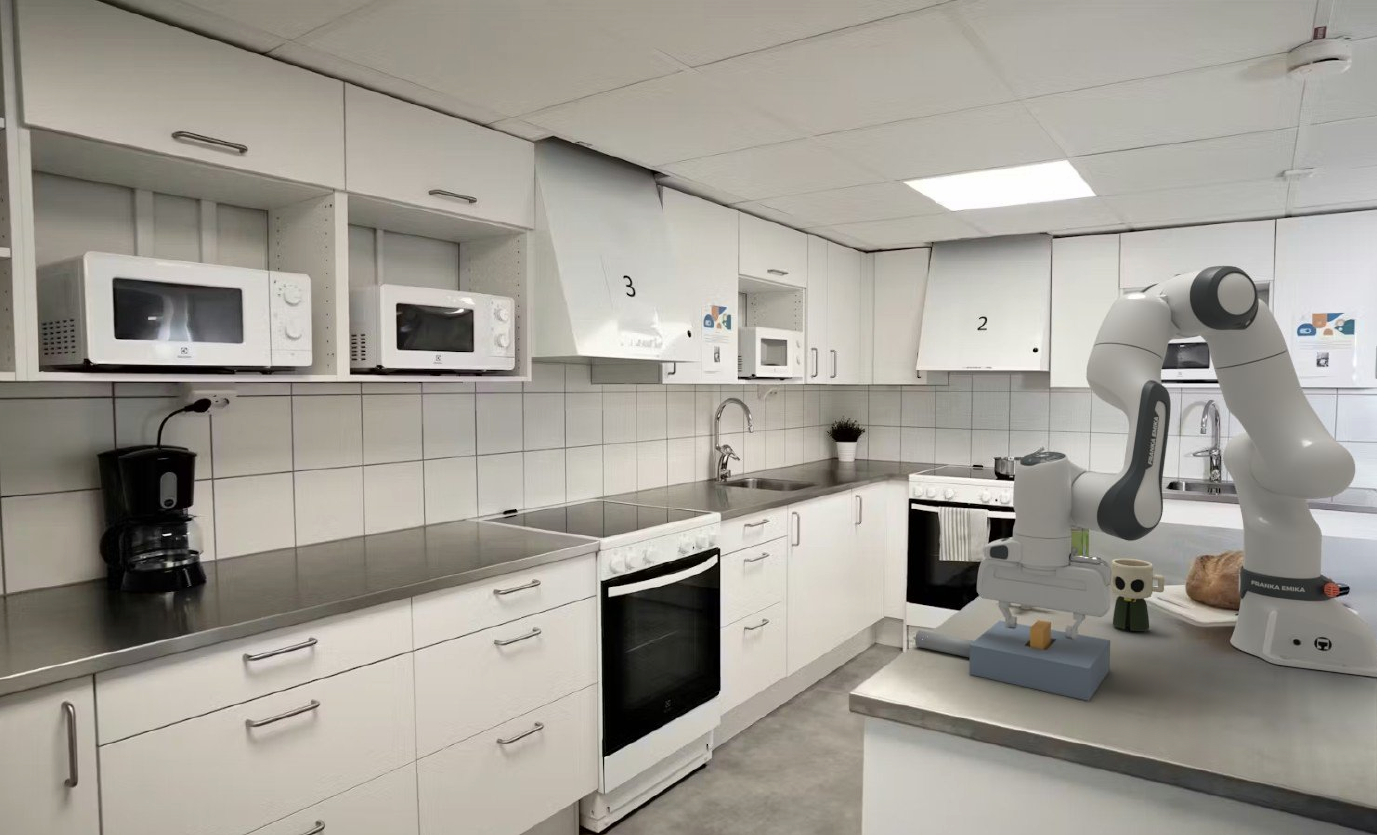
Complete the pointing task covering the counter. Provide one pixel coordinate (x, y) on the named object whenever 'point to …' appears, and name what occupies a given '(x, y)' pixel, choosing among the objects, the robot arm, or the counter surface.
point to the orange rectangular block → (1040, 635)
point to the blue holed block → (1030, 659)
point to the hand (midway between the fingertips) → (1040, 633)
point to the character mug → (1133, 592)
